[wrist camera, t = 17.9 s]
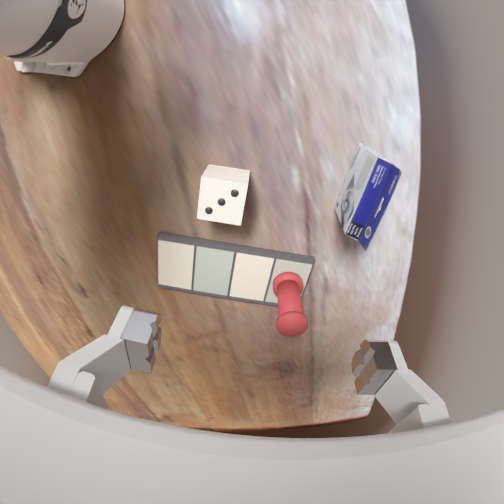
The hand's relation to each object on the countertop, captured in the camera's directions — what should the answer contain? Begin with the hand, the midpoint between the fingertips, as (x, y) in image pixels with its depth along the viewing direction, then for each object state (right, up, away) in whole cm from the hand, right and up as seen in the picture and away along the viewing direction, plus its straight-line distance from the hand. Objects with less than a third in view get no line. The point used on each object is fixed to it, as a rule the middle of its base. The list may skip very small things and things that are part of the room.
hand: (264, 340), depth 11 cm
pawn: (+6, -2, +40) cm, 41 cm away
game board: (-4, 0, +40) cm, 41 cm away
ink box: (+14, +14, +31) cm, 37 cm away
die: (-4, +13, +32) cm, 35 cm away
